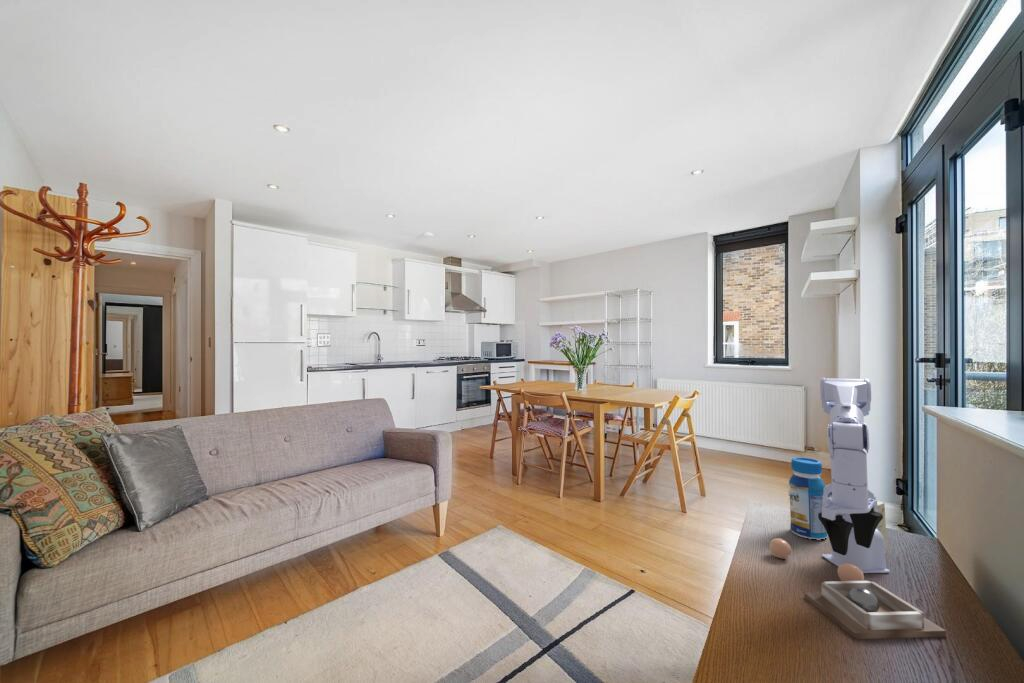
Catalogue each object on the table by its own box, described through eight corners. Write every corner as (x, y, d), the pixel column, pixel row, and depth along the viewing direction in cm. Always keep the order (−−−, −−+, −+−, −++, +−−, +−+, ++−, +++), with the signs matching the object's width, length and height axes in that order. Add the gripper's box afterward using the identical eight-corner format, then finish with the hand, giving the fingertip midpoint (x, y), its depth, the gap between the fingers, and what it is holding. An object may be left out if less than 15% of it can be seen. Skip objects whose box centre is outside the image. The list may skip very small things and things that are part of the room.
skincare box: (875, 558, 98) (873, 507, 98) (853, 550, 102) (851, 501, 102) (887, 552, 101) (885, 502, 101) (865, 545, 105) (863, 497, 105)
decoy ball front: (783, 552, 101) (782, 534, 101) (795, 562, 97) (795, 543, 97) (765, 553, 101) (765, 535, 101) (777, 562, 96) (776, 543, 97)
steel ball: (856, 590, 80) (847, 578, 78) (885, 601, 76) (877, 588, 74) (850, 612, 78) (841, 600, 76) (879, 624, 74) (871, 612, 73)
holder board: (882, 595, 83) (881, 578, 83) (946, 636, 71) (945, 616, 71) (804, 597, 83) (804, 580, 83) (855, 639, 71) (854, 618, 71)
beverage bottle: (830, 544, 105) (827, 465, 106) (790, 536, 110) (788, 461, 110) (826, 531, 112) (823, 458, 113) (789, 525, 117) (786, 454, 117)
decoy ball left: (852, 579, 89) (851, 558, 89) (870, 590, 85) (869, 569, 85) (832, 579, 89) (831, 559, 89) (849, 591, 85) (848, 569, 85)
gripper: (849, 472, 90) (851, 535, 89) (805, 480, 85) (807, 547, 84) (888, 481, 83) (891, 549, 83) (843, 491, 78) (845, 563, 78)
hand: (851, 549), depth 83 cm, fingers open, 7 cm apart
